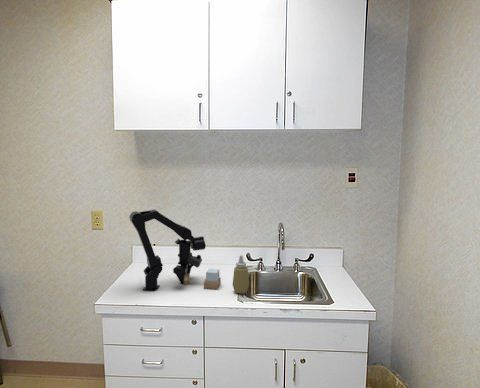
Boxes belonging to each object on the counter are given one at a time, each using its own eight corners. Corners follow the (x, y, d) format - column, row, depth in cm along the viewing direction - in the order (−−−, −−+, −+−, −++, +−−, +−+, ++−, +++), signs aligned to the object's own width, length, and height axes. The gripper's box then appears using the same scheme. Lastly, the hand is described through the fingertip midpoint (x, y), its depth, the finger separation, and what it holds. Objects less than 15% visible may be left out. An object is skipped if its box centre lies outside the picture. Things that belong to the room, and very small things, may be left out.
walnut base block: (217, 290, 178) (217, 282, 178) (203, 289, 179) (203, 281, 179) (220, 285, 185) (220, 277, 185) (207, 284, 186) (207, 276, 186)
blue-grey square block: (216, 281, 179) (216, 272, 178) (206, 281, 180) (206, 272, 179) (219, 277, 184) (219, 269, 183) (208, 277, 185) (208, 268, 184)
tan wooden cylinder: (188, 285, 184) (188, 276, 183) (179, 284, 185) (179, 275, 184) (190, 281, 188) (190, 273, 188) (182, 281, 189) (182, 272, 189)
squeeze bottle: (236, 296, 171) (236, 259, 168) (230, 290, 178) (230, 254, 176) (251, 293, 174) (252, 257, 171) (245, 287, 181) (245, 252, 179)
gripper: (194, 257, 174) (195, 289, 176) (204, 247, 192) (205, 276, 194) (172, 256, 176) (173, 287, 178) (184, 246, 194) (185, 274, 196)
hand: (185, 281), depth 186 cm, fingers open, 8 cm apart
